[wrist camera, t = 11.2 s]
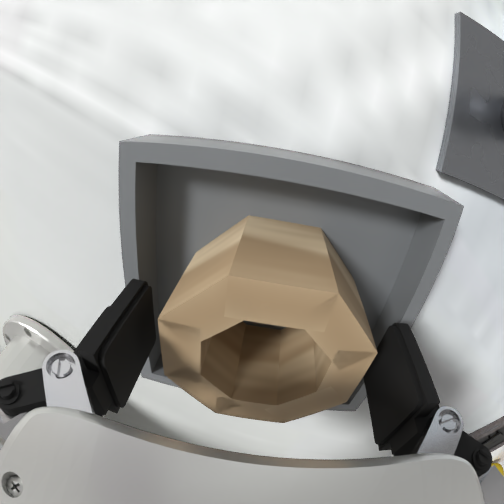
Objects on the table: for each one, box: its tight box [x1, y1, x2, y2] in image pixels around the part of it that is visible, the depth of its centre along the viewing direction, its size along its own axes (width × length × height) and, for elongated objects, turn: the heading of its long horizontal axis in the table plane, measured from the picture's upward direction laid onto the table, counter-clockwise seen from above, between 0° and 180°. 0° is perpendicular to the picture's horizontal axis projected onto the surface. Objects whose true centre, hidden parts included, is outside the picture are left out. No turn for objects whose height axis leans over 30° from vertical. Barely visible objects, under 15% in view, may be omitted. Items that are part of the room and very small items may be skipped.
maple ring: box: [158, 215, 378, 423], centre depth 11 cm, size 7×7×4 cm
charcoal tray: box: [119, 134, 464, 411], centre depth 12 cm, size 12×12×2 cm
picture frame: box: [468, 416, 504, 452], centre depth 23 cm, size 16×2×21 cm
